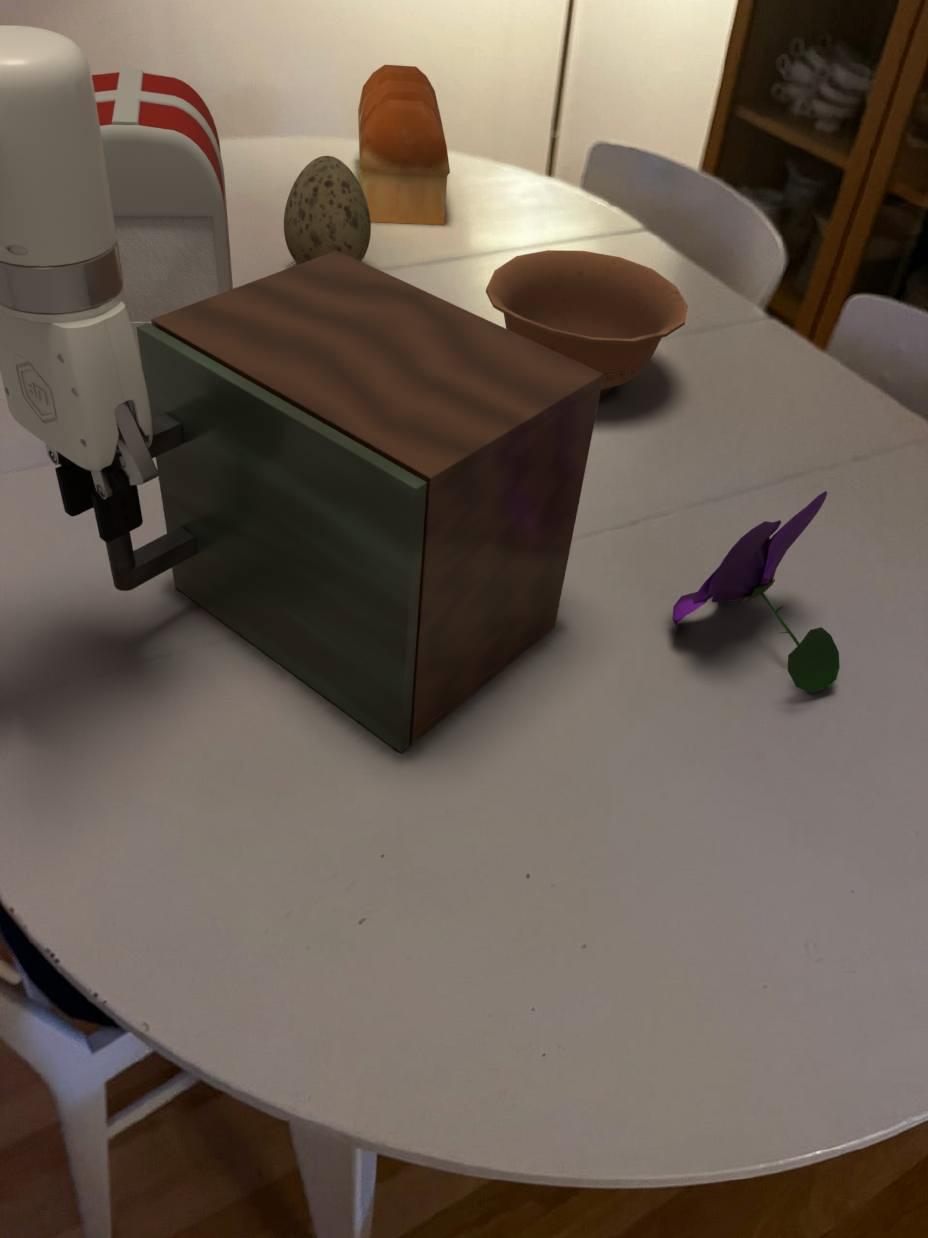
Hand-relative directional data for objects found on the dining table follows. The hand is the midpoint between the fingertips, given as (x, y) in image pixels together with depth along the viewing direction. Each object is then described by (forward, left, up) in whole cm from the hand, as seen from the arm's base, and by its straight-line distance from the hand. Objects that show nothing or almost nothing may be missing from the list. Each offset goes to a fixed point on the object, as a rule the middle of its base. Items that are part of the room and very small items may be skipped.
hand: (104, 517), depth 72 cm
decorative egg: (+32, +62, -13) cm, 71 cm away
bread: (+50, +89, -13) cm, 103 cm away
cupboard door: (+8, -7, -13) cm, 16 cm away
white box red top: (+9, +46, -13) cm, 48 cm away
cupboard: (+20, 0, -13) cm, 23 cm away
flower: (+50, -14, -13) cm, 53 cm away
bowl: (+53, +31, -13) cm, 62 cm away
